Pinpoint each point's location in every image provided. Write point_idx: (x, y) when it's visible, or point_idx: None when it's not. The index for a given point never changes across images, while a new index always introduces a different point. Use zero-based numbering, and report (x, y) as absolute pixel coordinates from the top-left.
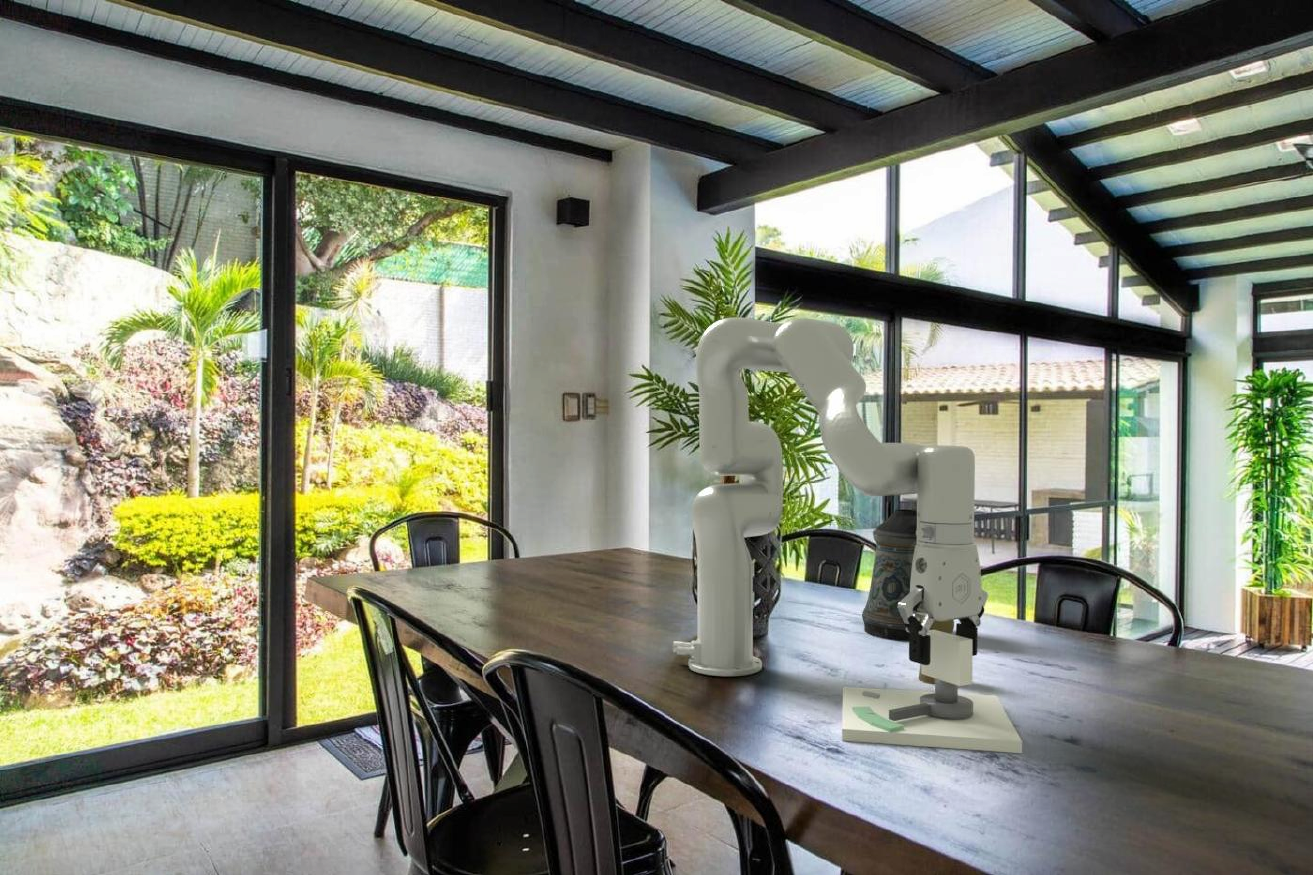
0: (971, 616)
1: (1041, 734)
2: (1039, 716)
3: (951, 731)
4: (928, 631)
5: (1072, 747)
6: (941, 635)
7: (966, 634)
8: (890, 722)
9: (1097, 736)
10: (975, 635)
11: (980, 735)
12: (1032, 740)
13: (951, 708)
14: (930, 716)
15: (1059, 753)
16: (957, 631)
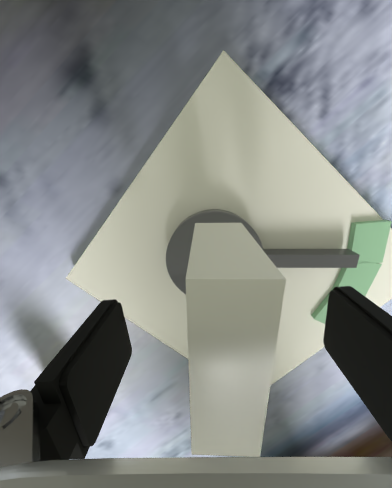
0: (69, 461)
1: (107, 129)
2: (42, 202)
3: (292, 171)
4: (236, 445)
5: (106, 38)
6: (253, 389)
7: (94, 377)
8: (360, 246)
9: (13, 64)
10: (75, 348)
11: (265, 125)
12: (146, 112)
13: (244, 222)
14: None
15: (156, 23)
16: (103, 413)
